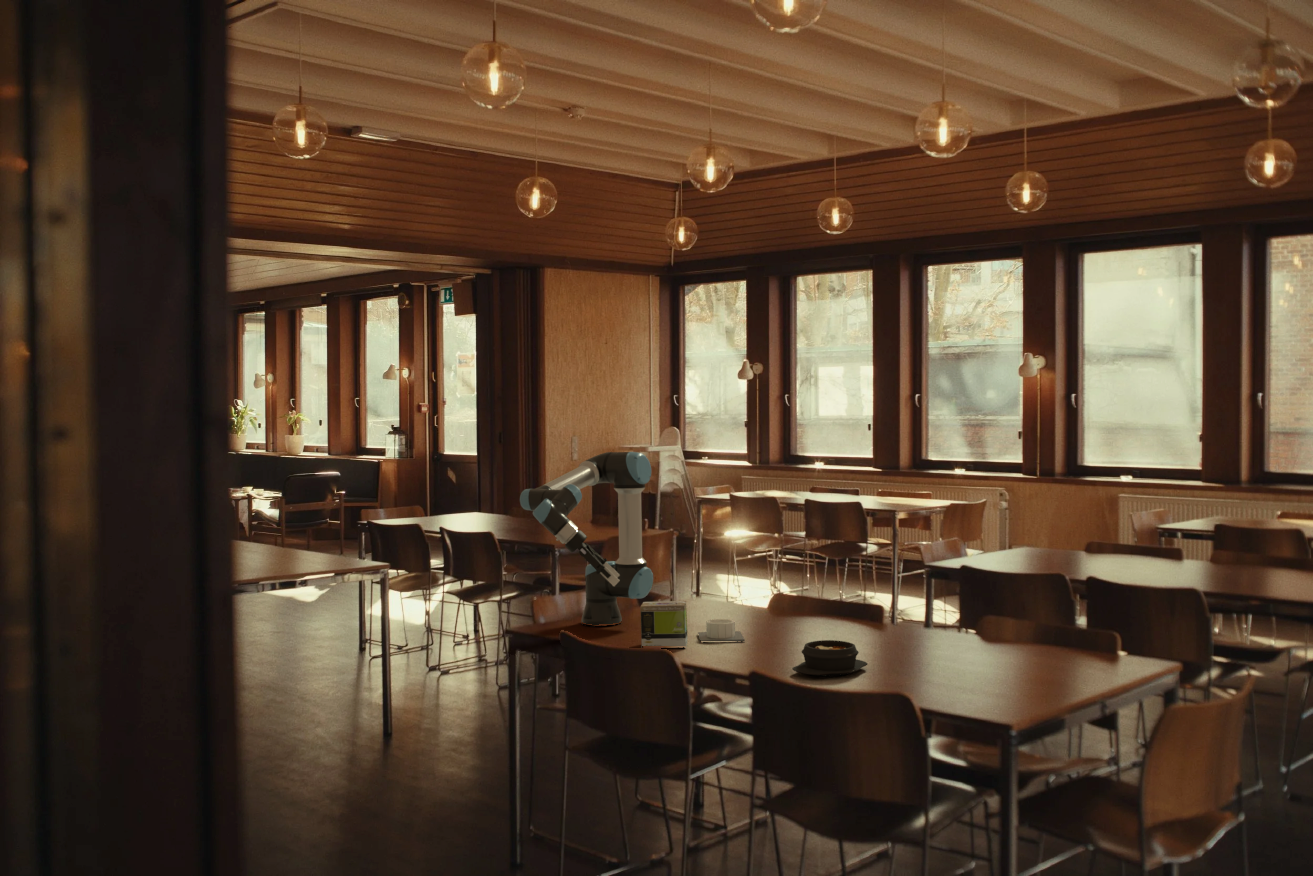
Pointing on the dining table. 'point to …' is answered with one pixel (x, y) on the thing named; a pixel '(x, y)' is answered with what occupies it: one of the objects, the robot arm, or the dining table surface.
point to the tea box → (664, 623)
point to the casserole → (829, 658)
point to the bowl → (720, 631)
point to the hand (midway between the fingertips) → (617, 580)
